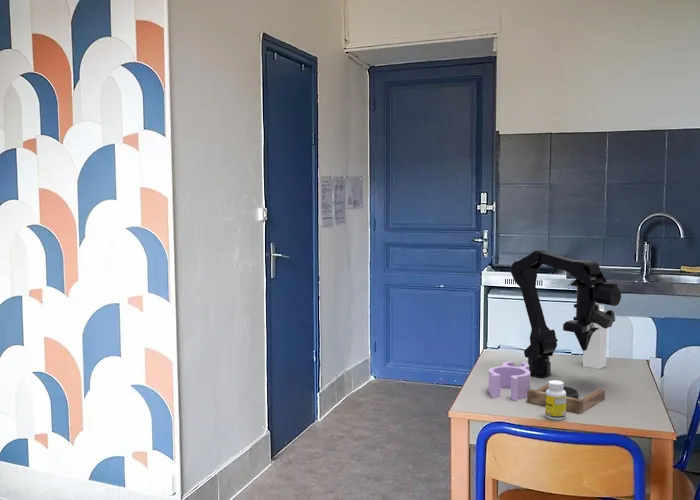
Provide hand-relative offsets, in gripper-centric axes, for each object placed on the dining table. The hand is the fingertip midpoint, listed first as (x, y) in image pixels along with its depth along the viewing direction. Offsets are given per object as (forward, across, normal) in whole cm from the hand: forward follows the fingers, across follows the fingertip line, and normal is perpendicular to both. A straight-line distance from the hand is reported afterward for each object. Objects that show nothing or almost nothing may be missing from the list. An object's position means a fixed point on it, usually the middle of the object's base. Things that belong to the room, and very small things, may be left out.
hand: (584, 350), depth 212 cm
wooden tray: (+12, -16, -3) cm, 20 cm away
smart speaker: (+12, -20, -3) cm, 23 cm away
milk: (+12, +27, +8) cm, 30 cm away
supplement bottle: (+12, -33, -7) cm, 36 cm away
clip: (+12, -19, +15) cm, 27 cm away
